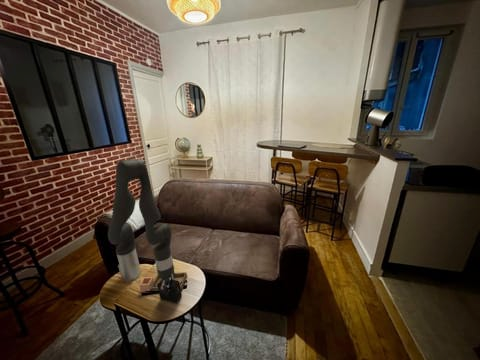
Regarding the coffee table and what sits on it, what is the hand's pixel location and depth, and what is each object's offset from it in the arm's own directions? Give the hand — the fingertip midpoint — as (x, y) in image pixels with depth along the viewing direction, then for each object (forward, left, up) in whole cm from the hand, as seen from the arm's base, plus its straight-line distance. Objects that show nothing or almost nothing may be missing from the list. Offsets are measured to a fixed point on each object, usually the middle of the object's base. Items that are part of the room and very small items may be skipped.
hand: (170, 292), depth 97 cm
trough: (-4, +9, -4) cm, 11 cm away
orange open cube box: (-15, +6, -4) cm, 17 cm away
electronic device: (0, 0, -4) cm, 4 cm away
